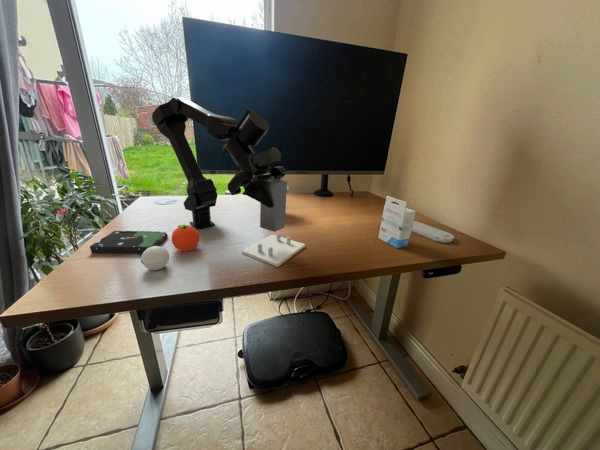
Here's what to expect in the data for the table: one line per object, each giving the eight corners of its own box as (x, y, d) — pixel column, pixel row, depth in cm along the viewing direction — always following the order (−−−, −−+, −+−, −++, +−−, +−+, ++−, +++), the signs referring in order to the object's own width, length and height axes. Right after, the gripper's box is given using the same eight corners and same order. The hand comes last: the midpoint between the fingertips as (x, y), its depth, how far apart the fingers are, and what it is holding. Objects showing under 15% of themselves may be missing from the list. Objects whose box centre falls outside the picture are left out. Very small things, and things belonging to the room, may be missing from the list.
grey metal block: (260, 227, 66) (261, 179, 61) (270, 223, 69) (271, 178, 65) (274, 231, 63) (276, 183, 59) (284, 227, 67) (287, 181, 62)
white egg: (148, 263, 59) (143, 242, 57) (173, 261, 60) (170, 241, 58) (136, 281, 52) (130, 258, 50) (164, 279, 53) (160, 256, 51)
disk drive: (91, 256, 61) (152, 255, 63) (88, 246, 60) (150, 246, 62) (116, 239, 71) (168, 239, 72) (113, 230, 70) (167, 230, 71)
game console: (458, 235, 81) (445, 239, 77) (456, 241, 82) (443, 246, 78) (411, 218, 95) (398, 221, 91) (410, 223, 96) (397, 226, 92)
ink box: (408, 246, 76) (419, 201, 70) (397, 248, 74) (407, 202, 68) (388, 235, 83) (397, 194, 77) (377, 237, 81) (385, 195, 75)
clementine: (167, 247, 66) (163, 223, 64) (192, 240, 71) (189, 218, 69) (180, 258, 62) (176, 233, 59) (205, 250, 66) (203, 226, 64)
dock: (241, 253, 66) (241, 244, 65) (272, 236, 77) (272, 228, 76) (277, 266, 60) (277, 257, 59) (304, 246, 72) (305, 238, 70)
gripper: (233, 136, 52) (274, 194, 51) (282, 136, 67) (314, 181, 66) (211, 168, 59) (247, 220, 58) (261, 162, 74) (289, 203, 73)
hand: (277, 205), depth 63 cm, fingers closed on grey metal block, 5 cm apart
